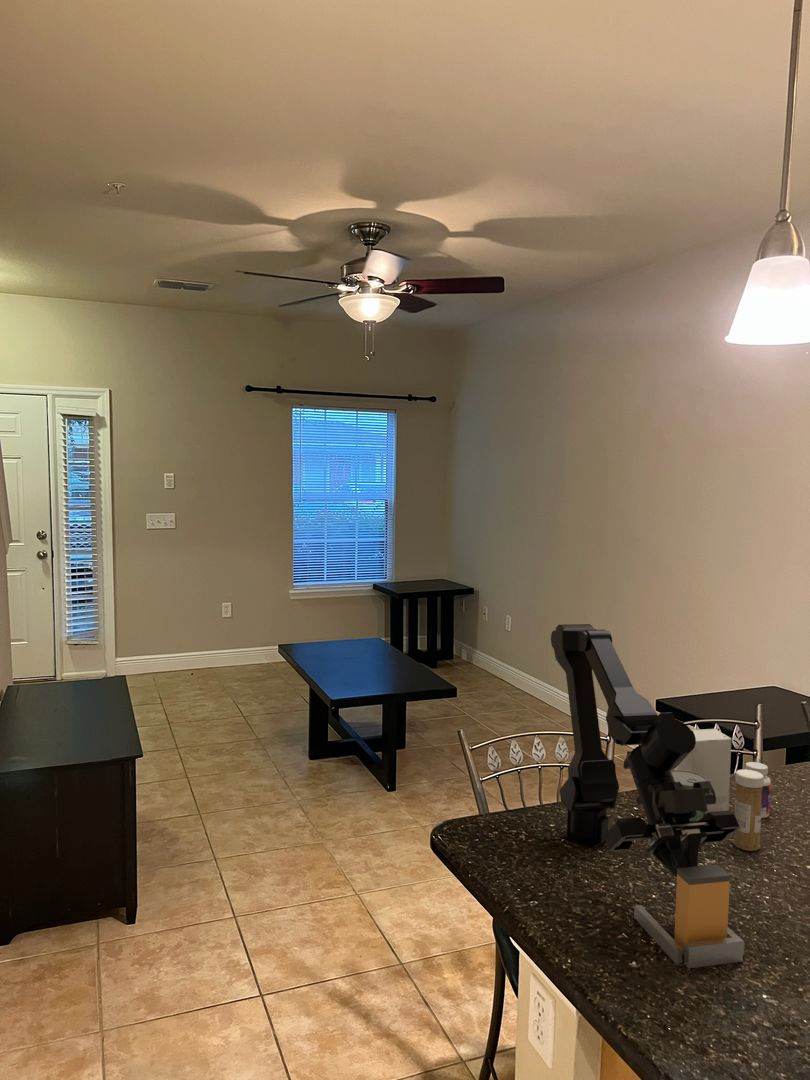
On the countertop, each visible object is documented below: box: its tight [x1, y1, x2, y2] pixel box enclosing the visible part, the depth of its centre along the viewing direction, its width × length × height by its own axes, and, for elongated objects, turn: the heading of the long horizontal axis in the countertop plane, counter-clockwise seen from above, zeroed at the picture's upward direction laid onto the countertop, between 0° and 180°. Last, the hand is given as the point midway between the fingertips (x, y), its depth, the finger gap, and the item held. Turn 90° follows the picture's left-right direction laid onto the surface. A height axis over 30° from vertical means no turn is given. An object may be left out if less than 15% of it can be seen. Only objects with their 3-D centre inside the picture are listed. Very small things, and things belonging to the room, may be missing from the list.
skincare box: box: [677, 728, 733, 814], centre depth 152 cm, size 8×7×16 cm
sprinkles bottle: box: [732, 768, 764, 852], centre depth 137 cm, size 5×5×14 cm
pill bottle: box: [744, 761, 772, 819], centre depth 151 cm, size 5×5×10 cm
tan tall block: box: [673, 864, 731, 955], centre depth 104 cm, size 3×6×11 cm, turn 102°
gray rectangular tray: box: [633, 904, 746, 969], centre depth 108 cm, size 16×10×4 cm, turn 12°
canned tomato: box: [671, 769, 708, 844], centre depth 141 cm, size 8×8×11 cm
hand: (694, 892), depth 105 cm, fingers closed, pressing on tan tall block
